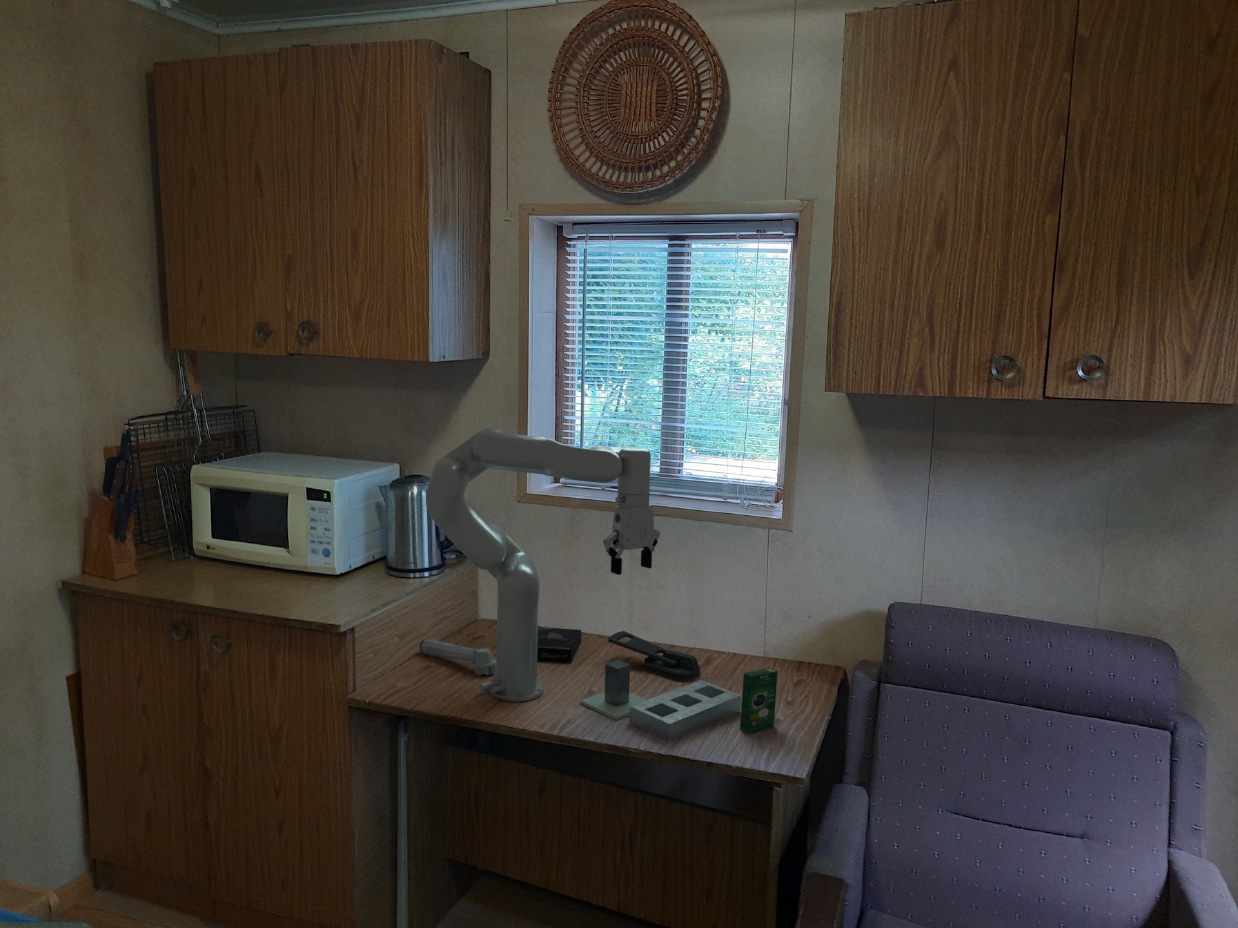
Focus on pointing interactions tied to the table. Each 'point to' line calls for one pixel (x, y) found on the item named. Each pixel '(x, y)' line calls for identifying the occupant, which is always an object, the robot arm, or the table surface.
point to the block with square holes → (684, 710)
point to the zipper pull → (660, 658)
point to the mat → (609, 709)
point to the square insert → (617, 683)
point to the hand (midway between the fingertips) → (631, 570)
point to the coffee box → (758, 700)
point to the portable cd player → (557, 644)
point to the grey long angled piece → (461, 655)
